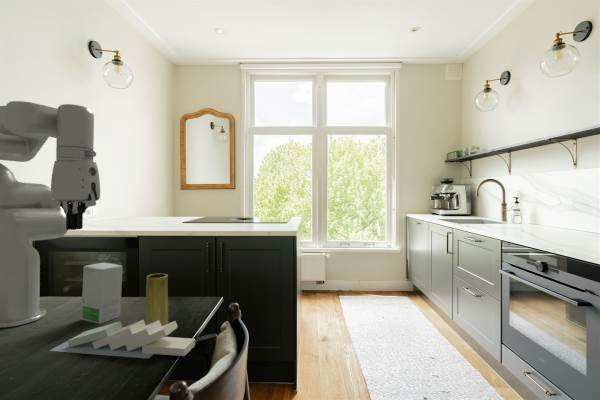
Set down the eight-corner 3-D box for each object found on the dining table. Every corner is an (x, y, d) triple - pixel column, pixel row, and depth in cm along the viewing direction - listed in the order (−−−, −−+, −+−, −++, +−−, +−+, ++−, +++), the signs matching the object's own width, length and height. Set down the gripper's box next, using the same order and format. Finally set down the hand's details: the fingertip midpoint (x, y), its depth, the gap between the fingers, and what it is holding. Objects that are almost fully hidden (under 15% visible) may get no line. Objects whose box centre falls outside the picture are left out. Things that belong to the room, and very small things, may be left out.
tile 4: (125, 344, 70) (163, 329, 69) (139, 335, 75) (175, 320, 74) (127, 351, 70) (166, 336, 69) (141, 341, 75) (177, 326, 74)
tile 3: (108, 343, 70) (146, 328, 69) (123, 334, 75) (159, 319, 74) (111, 350, 70) (149, 335, 69) (126, 340, 75) (161, 326, 74)
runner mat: (49, 352, 70) (49, 350, 70) (81, 335, 79) (81, 333, 79) (148, 360, 67) (148, 358, 67) (170, 341, 76) (170, 339, 76)
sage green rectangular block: (67, 340, 71) (105, 329, 70) (84, 331, 76) (120, 321, 75) (69, 347, 71) (107, 336, 70) (86, 337, 76) (122, 327, 75)
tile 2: (92, 342, 71) (129, 327, 70) (108, 333, 76) (143, 319, 75) (94, 349, 71) (132, 334, 70) (110, 339, 76) (145, 325, 74)
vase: (159, 334, 80) (159, 279, 80) (138, 332, 81) (139, 277, 81) (173, 325, 86) (174, 273, 86) (153, 323, 87) (154, 272, 87)
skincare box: (80, 320, 88) (81, 266, 88) (103, 313, 94) (103, 261, 94) (100, 325, 85) (101, 268, 85) (122, 317, 91) (123, 264, 91)
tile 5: (142, 345, 69) (184, 348, 68) (155, 336, 74) (195, 338, 73) (142, 352, 69) (184, 356, 68) (155, 342, 74) (194, 345, 73)
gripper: (113, 158, 80) (112, 228, 80) (61, 158, 82) (60, 227, 82) (90, 153, 73) (89, 231, 73) (34, 154, 75) (33, 230, 75)
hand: (74, 229), depth 77 cm, fingers closed
